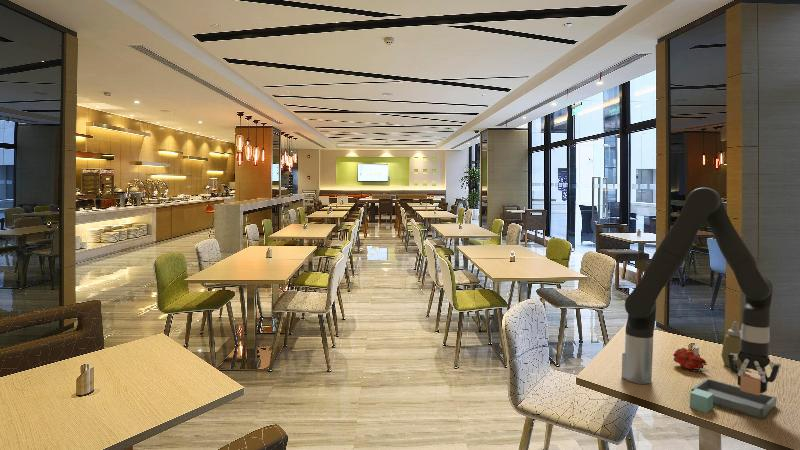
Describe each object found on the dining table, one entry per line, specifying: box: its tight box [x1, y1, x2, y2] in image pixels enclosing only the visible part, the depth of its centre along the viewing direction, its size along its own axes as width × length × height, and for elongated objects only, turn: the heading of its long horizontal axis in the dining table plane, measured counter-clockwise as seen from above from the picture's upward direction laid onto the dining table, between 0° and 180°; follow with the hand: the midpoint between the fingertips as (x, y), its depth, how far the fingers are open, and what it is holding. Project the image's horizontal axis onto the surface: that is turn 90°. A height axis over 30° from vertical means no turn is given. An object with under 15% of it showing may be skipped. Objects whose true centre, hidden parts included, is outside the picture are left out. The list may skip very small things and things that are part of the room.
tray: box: [690, 377, 777, 421], centre depth 159 cm, size 20×14×3 cm
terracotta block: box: [739, 371, 762, 396], centre depth 154 cm, size 5×5×5 cm
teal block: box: [689, 388, 714, 414], centre depth 155 cm, size 5×5×5 cm
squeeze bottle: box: [721, 320, 742, 369], centre depth 189 cm, size 8×8×18 cm
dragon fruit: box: [673, 347, 708, 372], centre depth 187 cm, size 8×8×12 cm
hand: (752, 389), depth 154 cm, fingers closed on terracotta block, 5 cm apart
